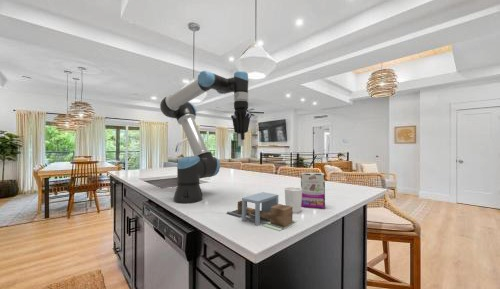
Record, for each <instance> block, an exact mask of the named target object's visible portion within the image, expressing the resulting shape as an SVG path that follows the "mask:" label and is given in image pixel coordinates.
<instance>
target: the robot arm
mask: <svg viewBox="0 0 500 289" xmlns="http://www.w3.org/2000/svg"><path fill="white" fill-rule="evenodd" d="M210 90H215V91H216V92H217V93H218V94H219V95H223V94H224V95H225V94H231V93H233V100H234V102H233V108H234V114H231V115H230V118H231V120H232V126H233V131H234V133H236V134H237V135H236V136H237V137H236V138H237V142H238V143H237V147H244V145H245V144H244V143H245V142H244V140H245V139H246V138H245V134H246V133H248V132H249V127H250V121H251V118H252V113H250V112H249V111H248V110H249V102H248V101H249V73H248V72H247V71H243V70H236V71H235V72H234V74H233V77H229V78H227V77H224V76H221V75H218V74H217V73H213V72H212V71H208V70H201V71H200V72H199V74H198V75H197V79H195V80H194V81H192V82H191V83H190V84H187V85H186V86H184V87H183V88H181V89H180V90H178V91H176V92H175V93H173V94H169V95H166V96H165V97H164V98H163V99H162V100H161V102H160V104H159V109H160V110H161V113H162V114H163V115H164V116H166V117H167V118H172V119H175V120H176V121H177V123H178V125H181V126H182V129H183V131H184V133H185V137H186V138H187V141H188V144H189V146H190V149H191V152H192V154H193V155H190V156H184V157H180V158H178V160H177V165H176V167H177V169H176V170H177V172H176V173H177V174H176V175H177V177H176V178H177V181H176V182H177V183H176V184H177V186H176V189H175V193H174V195H173V201H174V203H179V204H191V203H192V204H193V203H198V202H201V201H203V197H204V194H203V192H202V188H201V186H200V180H201V179H206V178H212V177H215V176H217V175H218V174H219V172H220V169H221V162H220V160H219V159H218V158H217V157H215V156H214V155H213V153H212V152H211V151H209V150H208V148H207V146H206V144H205V141H204V139H203V137H202V134H201V132H200V130H199V128H198V125H197V123H196V121H195V120H196V116H197V108H196V106H195V105H194V104H193V103H192V102H190V101H192V100H194V99H196V98H197V97H200V96H201V95H203V94H205V93H206V92H208V91H210Z"/></svg>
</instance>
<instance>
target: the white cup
mask: <svg viewBox="0 0 500 289" xmlns="http://www.w3.org/2000/svg"><path fill="white" fill-rule="evenodd" d="M301 203H302V189H301V187H296V186H295V187H294V186H293V187H292V186H290V187H285V188H284V205H286V206H291V207H293V213H295V214H298V213H300V212H302V207H301Z"/></svg>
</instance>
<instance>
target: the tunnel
mask: <svg viewBox="0 0 500 289" xmlns="http://www.w3.org/2000/svg"><path fill="white" fill-rule="evenodd" d="M241 201H242V215H239V214H236V213H232V211H227V212H226V213H230V214H233V215H236V216H240V218H241V221H242V222H247V220H249V221H252V222H254V223H255V225H256V226H257V227H258V226H259V225H261V224H262V225H264V224H267V225H271V226H274V227H278V228H281V229H282V230H281V231H283V230H284V229H283V227H280V226H277V225H274V224H270V223H268V221H267V222H266V221H263V220H261V217H260V211H264V212H268V213H270V207H272V206H275V205H278V204H279V194H276V193H270V192H264V191H263V192H258V193H254V194H251V195H248V196H247V195H246V196H244V197H241ZM246 201H247V203H252V204H255V206H254V207H255V208H254V209H255V215H254V216H255V217H254V218H253V217H249V216H247V215H246ZM260 207H261V208H260ZM236 216H235V217H236ZM294 221H295V220H294ZM294 221H292V222H293V224H295V223H294Z"/></svg>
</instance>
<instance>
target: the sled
mask: <svg viewBox="0 0 500 289" xmlns="http://www.w3.org/2000/svg"><path fill="white" fill-rule="evenodd" d="M237 210H238V212H239V213H240V212H242V200H238V201H237ZM246 213H248V215H253V216H255V208H252V207H248V202H247V201H246ZM293 217H294V216H293V207H291V206H286V204H282V203H281V204H280V203H278V205H275V206H272V207H270V213H268V212H264V211H261V210H260V218H263V219H266V220H270V221H269V222H270V223H272V224H275V225H279V226H282V227H285V226H287V225H289V224H291V223H292V220H293Z"/></svg>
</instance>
